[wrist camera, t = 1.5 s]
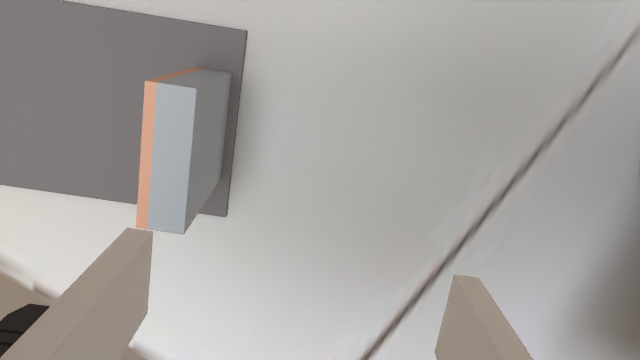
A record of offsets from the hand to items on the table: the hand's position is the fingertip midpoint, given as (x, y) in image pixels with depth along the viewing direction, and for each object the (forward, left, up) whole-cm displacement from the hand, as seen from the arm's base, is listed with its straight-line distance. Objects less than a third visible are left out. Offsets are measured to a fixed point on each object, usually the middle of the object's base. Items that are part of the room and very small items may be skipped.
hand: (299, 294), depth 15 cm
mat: (+16, 0, -23) cm, 29 cm away
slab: (+7, 0, -23) cm, 24 cm away
